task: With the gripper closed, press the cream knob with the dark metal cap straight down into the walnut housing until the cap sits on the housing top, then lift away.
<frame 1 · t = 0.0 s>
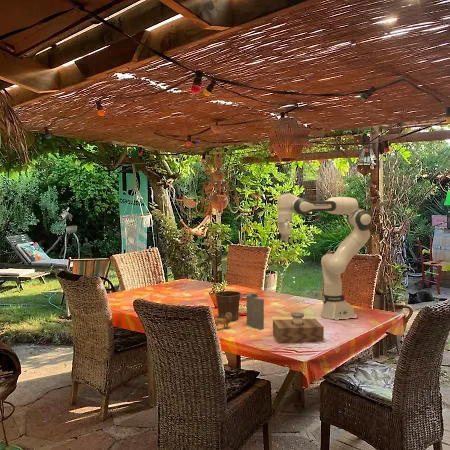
hand: (284, 241, 287), 48 cm above the table, tool pointing down, fingers open, 8 cm apart
housing: (297, 337, 251), on the table
plant pot: (228, 319, 289), on the table
lion figurine: (221, 329, 268), on the table
knob: (297, 320, 250), point 10 cm above the table, slide at 0.0 cm
hip flask: (254, 326, 273), on the table
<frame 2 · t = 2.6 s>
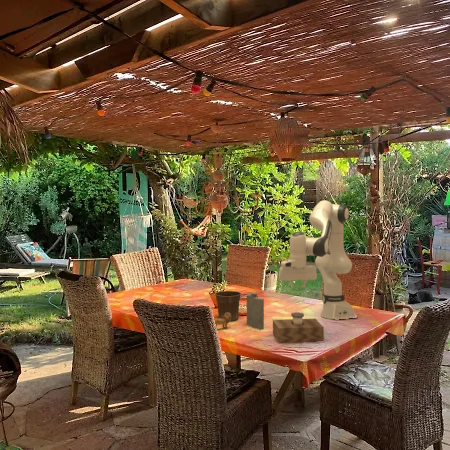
hand: (297, 288, 249), 27 cm above the table, tool pointing down, fingers open, 4 cm apart
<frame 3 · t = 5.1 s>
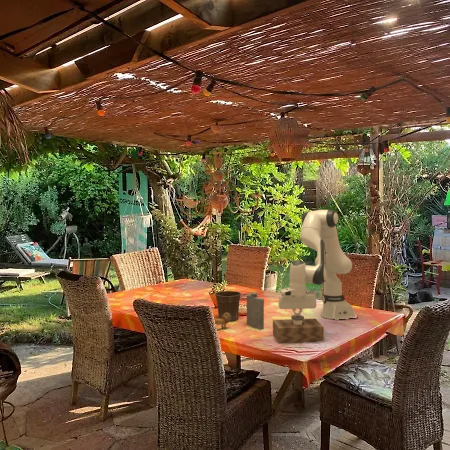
hand: (297, 316, 250), 12 cm above the table, tool pointing down, fingers closed, pressing on knob
knob: (297, 322, 250), point 8 cm above the table, slide at 1.4 cm, touching gripper
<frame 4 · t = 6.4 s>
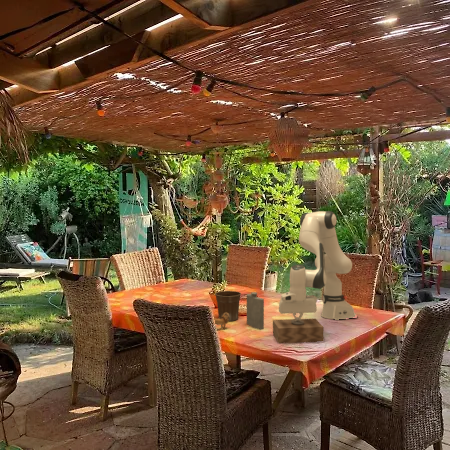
hand: (297, 320, 250), 9 cm above the table, tool pointing down, fingers closed
knob: (297, 327, 250), point 6 cm above the table, slide at 4.1 cm
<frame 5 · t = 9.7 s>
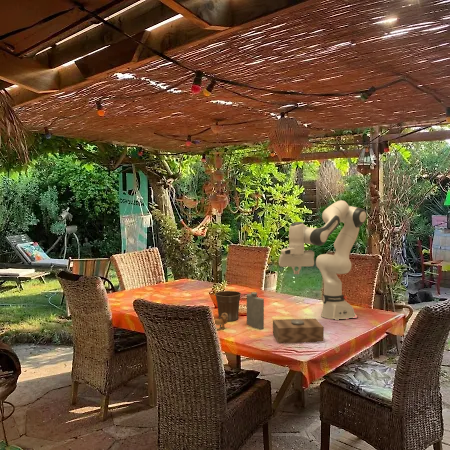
hand: (296, 274, 269), 31 cm above the table, tool pointing down, fingers closed
at the end: knob slide at 4.1 cm; hip flask moved 0.3 cm from its start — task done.
